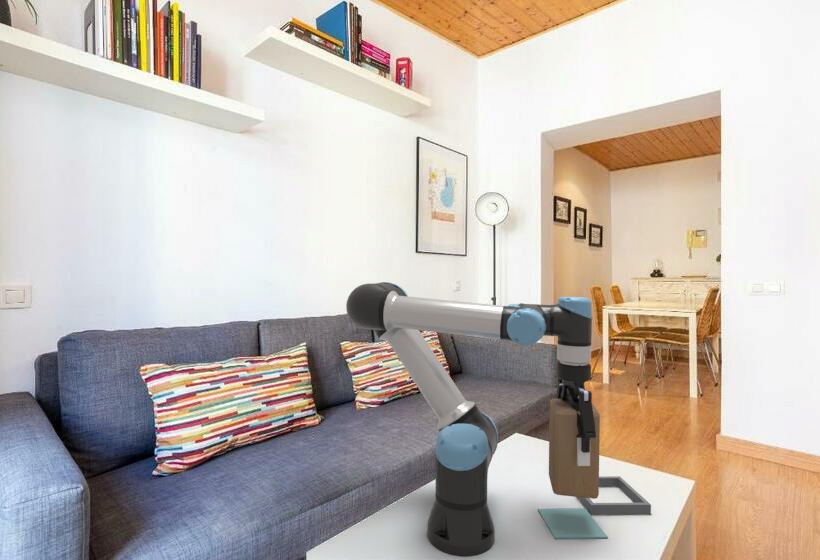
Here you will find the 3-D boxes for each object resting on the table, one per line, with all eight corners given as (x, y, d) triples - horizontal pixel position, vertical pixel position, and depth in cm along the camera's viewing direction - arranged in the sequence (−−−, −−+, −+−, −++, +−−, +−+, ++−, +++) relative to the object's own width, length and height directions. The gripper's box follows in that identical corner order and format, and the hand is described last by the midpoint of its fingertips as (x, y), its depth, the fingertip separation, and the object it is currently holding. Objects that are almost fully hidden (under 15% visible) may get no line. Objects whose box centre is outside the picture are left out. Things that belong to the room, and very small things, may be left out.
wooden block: (590, 480, 108) (591, 399, 108) (599, 501, 99) (600, 412, 98) (548, 476, 110) (549, 397, 110) (553, 496, 101) (554, 409, 100)
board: (555, 539, 98) (555, 537, 98) (537, 510, 110) (537, 508, 110) (607, 538, 99) (607, 536, 99) (584, 509, 111) (584, 508, 111)
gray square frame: (591, 515, 108) (591, 505, 108) (567, 485, 123) (567, 476, 123) (650, 514, 109) (650, 504, 109) (619, 485, 124) (619, 476, 124)
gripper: (614, 373, 92) (612, 477, 93) (569, 353, 116) (568, 435, 116) (579, 373, 92) (577, 477, 92) (541, 353, 115) (540, 436, 116)
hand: (572, 454), depth 104 cm, fingers closed on wooden block, 11 cm apart
